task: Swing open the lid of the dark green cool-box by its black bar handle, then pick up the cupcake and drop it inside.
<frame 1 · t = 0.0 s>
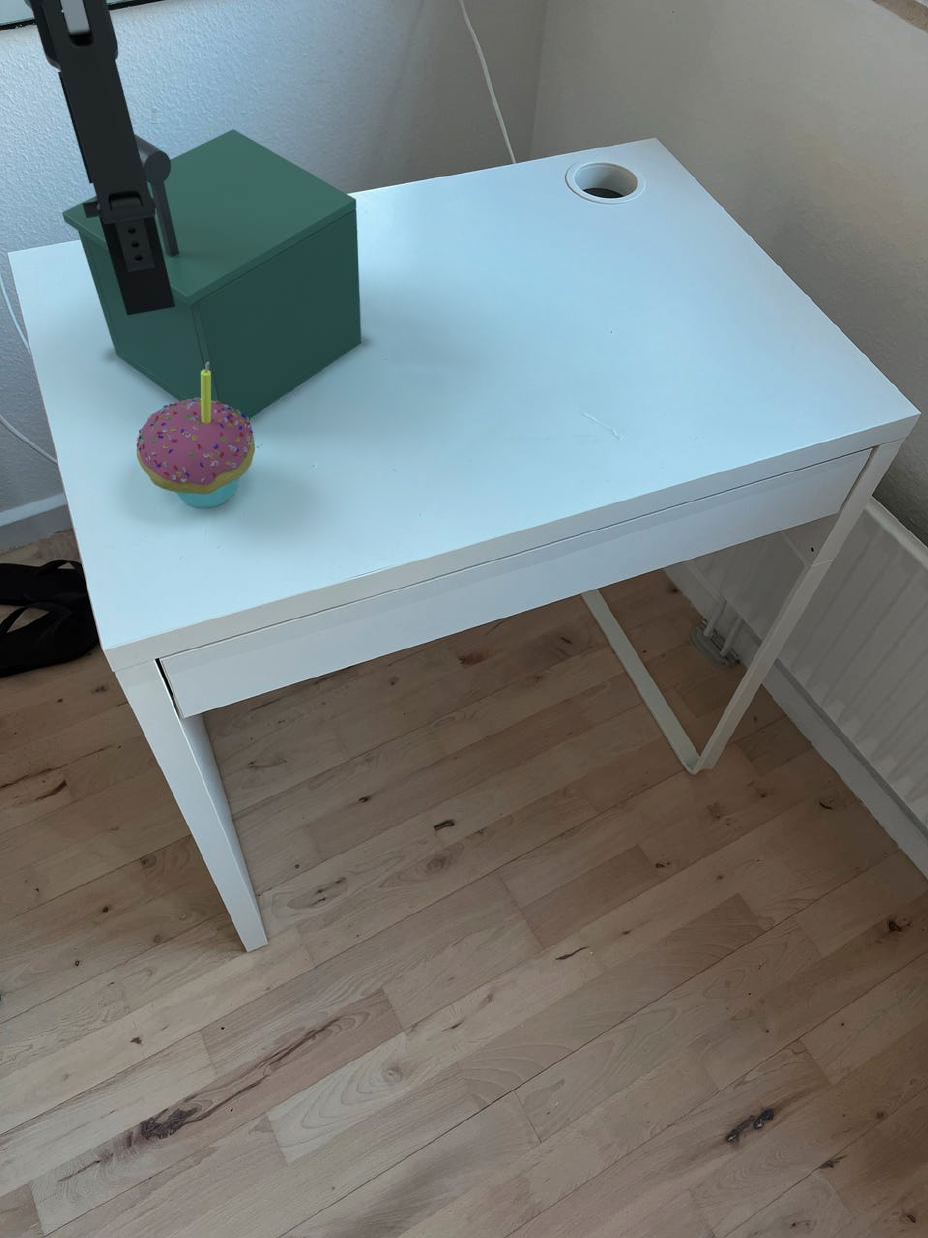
hand: (129, 238, 57), 21 cm above the table, tool pointing down, fingers open, 13 cm apart
cupcake: (206, 488, 74), on the table
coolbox: (241, 348, 83), on the table
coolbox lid: (204, 161, 68), point 17 cm above the table, hinge at 0.0°
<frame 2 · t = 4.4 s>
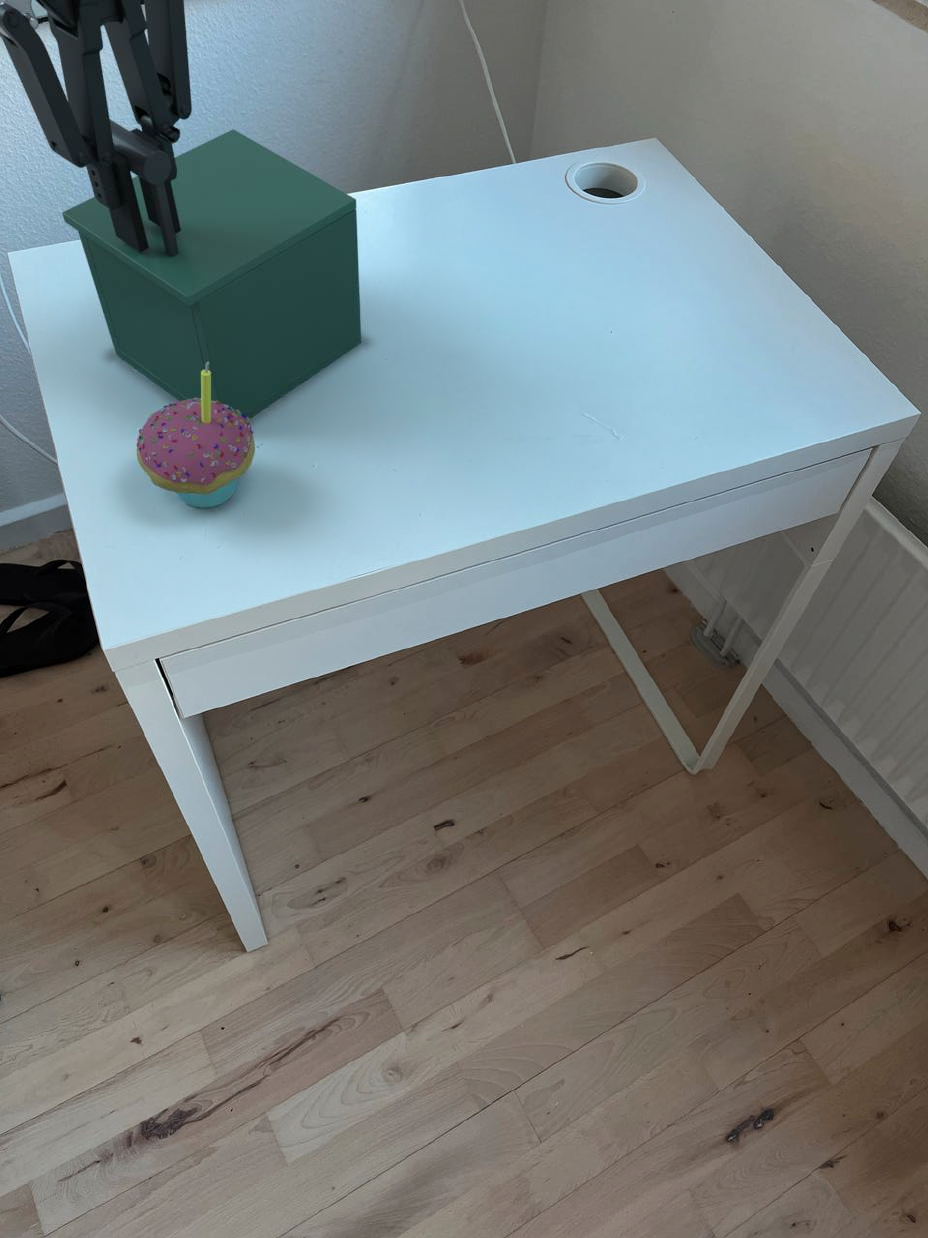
hand: (148, 232, 68), 14 cm above the table, tool pointing down, fingers closed on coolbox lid, 2 cm apart
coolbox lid: (204, 161, 68), point 17 cm above the table, hinge at 0.0°, touching gripper
everything else where it was.
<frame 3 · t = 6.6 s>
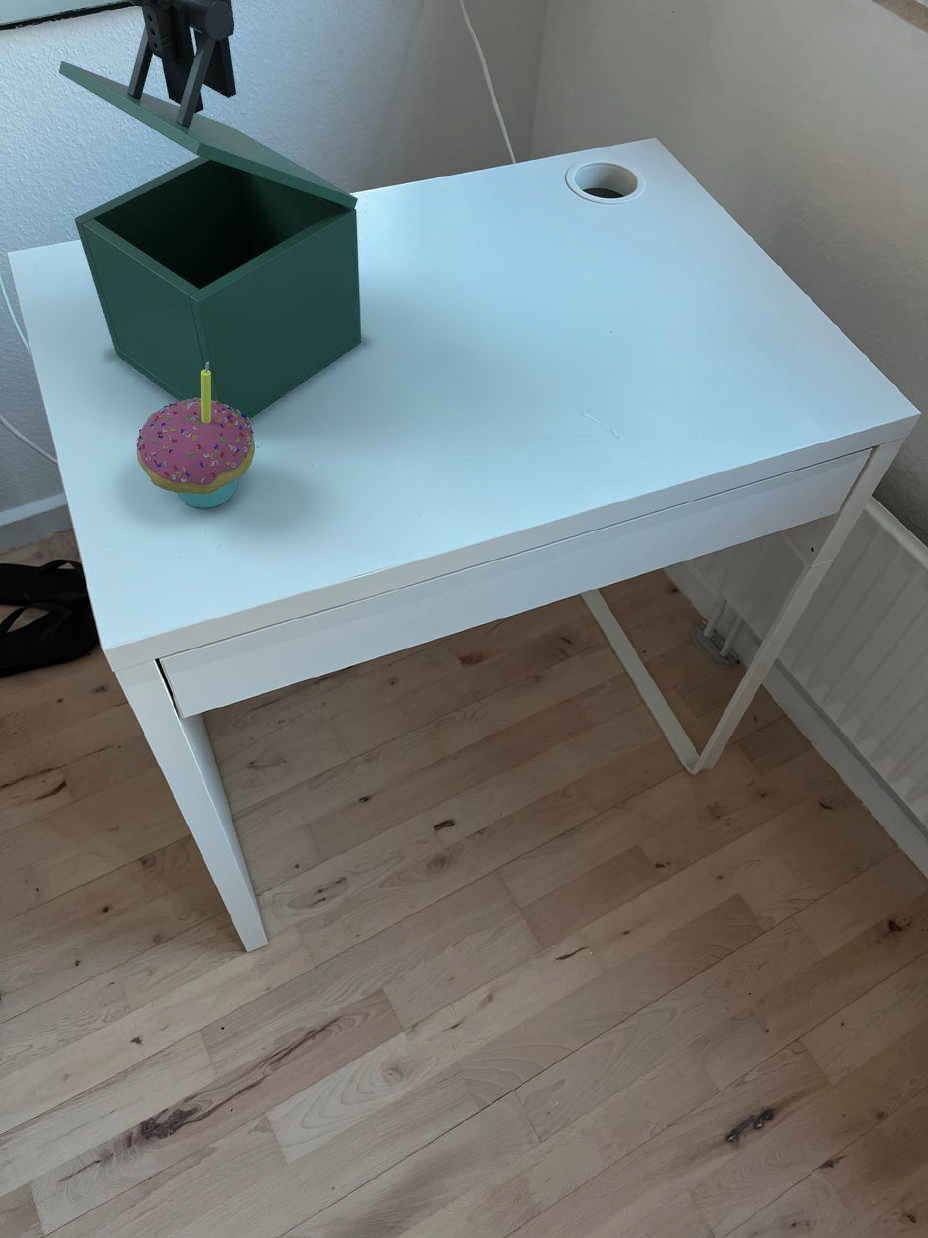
hand: (202, 95, 65), 22 cm above the table, tool pointing down, fingers closed on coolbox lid, 2 cm apart
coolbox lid: (235, 84, 67), point 21 cm above the table, hinge at 35.4°, touching gripper
everything else where it was.
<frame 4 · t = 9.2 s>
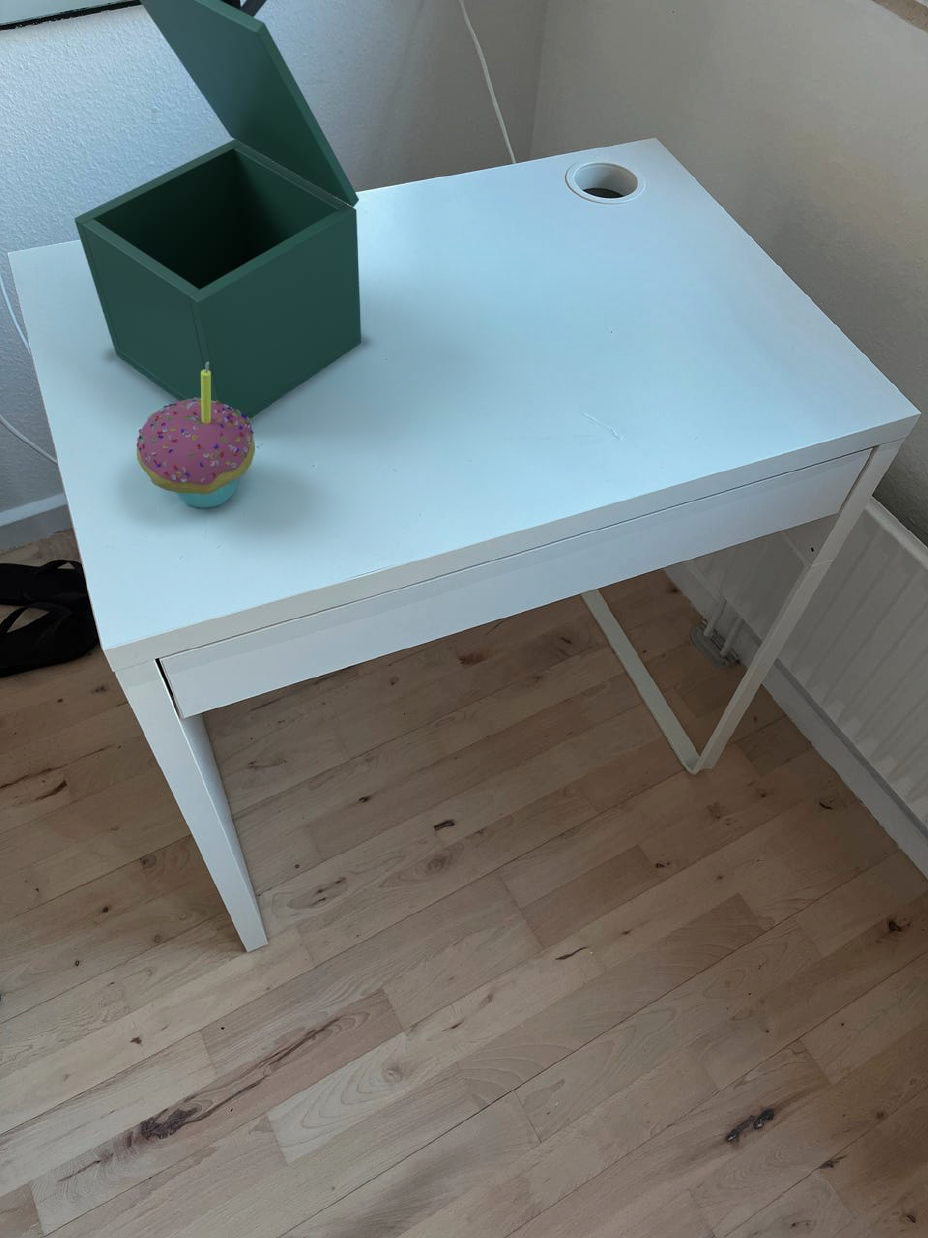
hand: (289, 11, 67), 25 cm above the table, tool pointing down, fingers open, 11 cm apart
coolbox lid: (277, 46, 67), point 23 cm above the table, hinge at 62.8°, touching gripper
everything else where it was.
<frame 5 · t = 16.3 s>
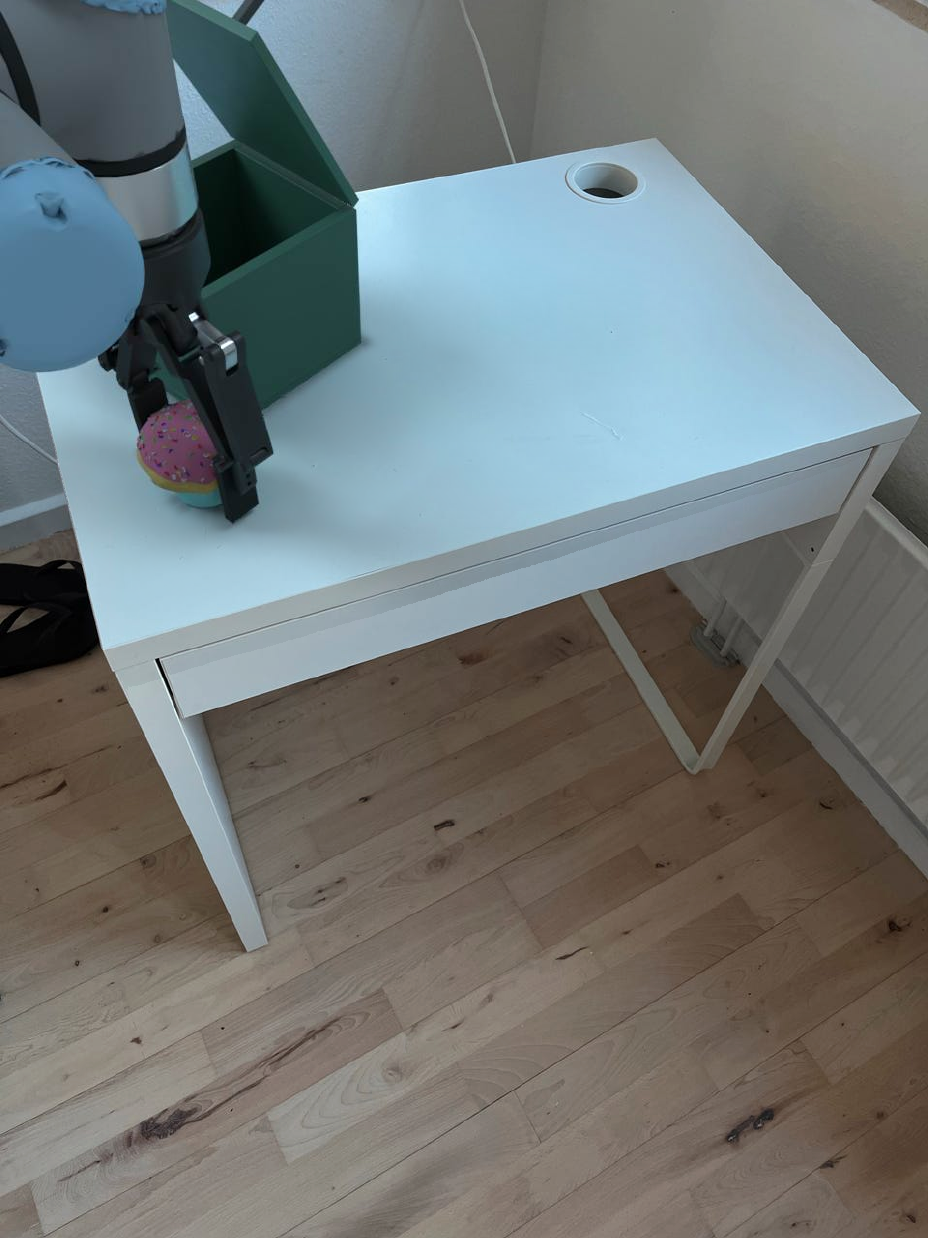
hand: (202, 480, 73), 1 cm above the table, tool pointing down, fingers closed on cupcake, 8 cm apart
cupcake: (206, 488, 74), on the table, touching gripper
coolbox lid: (274, 48, 67), point 23 cm above the table, hinge at 60.6°
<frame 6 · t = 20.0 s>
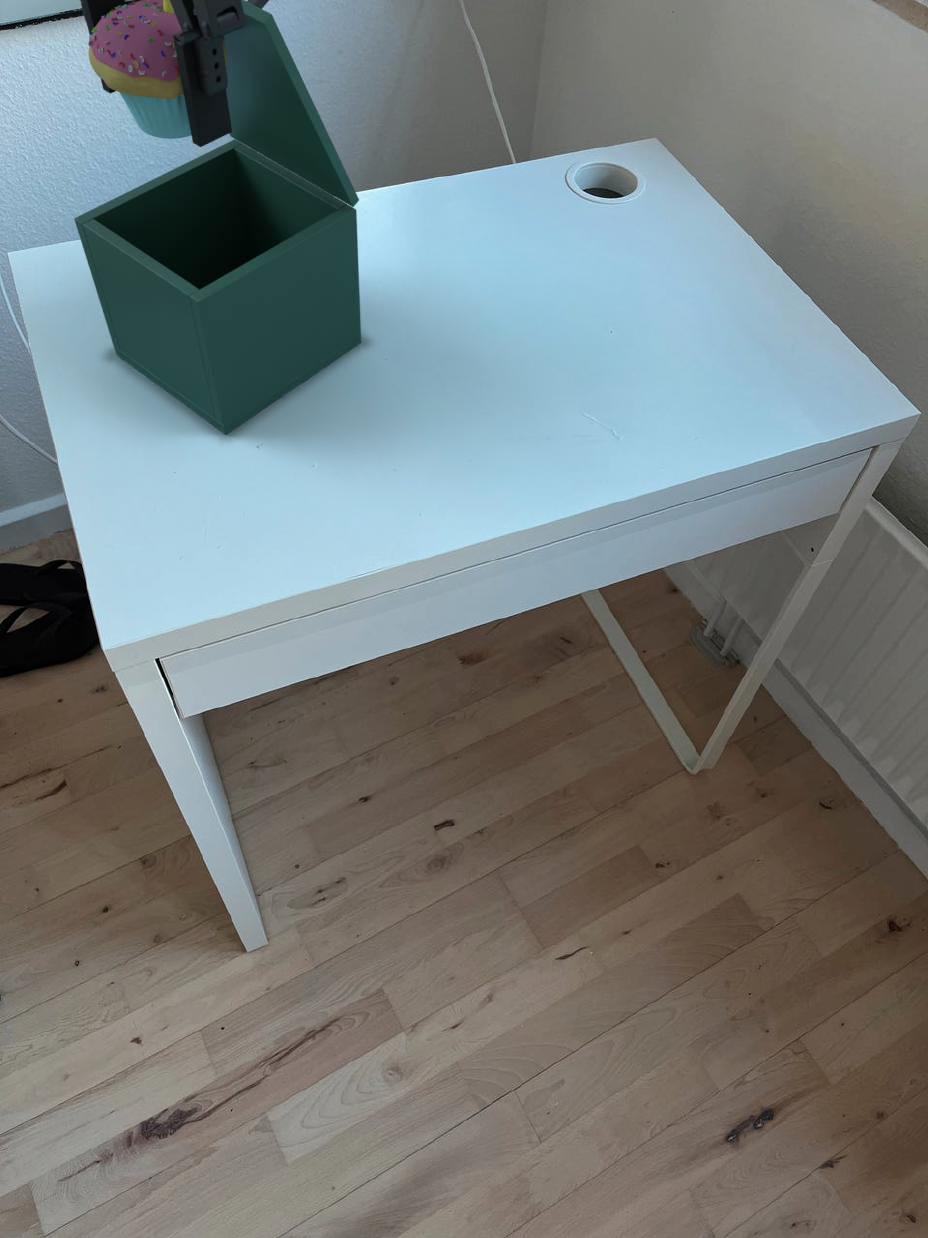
hand: (166, 109, 63), 22 cm above the table, tool pointing down, fingers closed on cupcake, 8 cm apart
cupcake: (173, 124, 64), point 21 cm above the table, touching gripper
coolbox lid: (281, 44, 68), point 23 cm above the table, hinge at 65.3°
when the fingers open (13 cm above the table, at t = 23.5 s): cupcake stays where it is, resting on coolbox.
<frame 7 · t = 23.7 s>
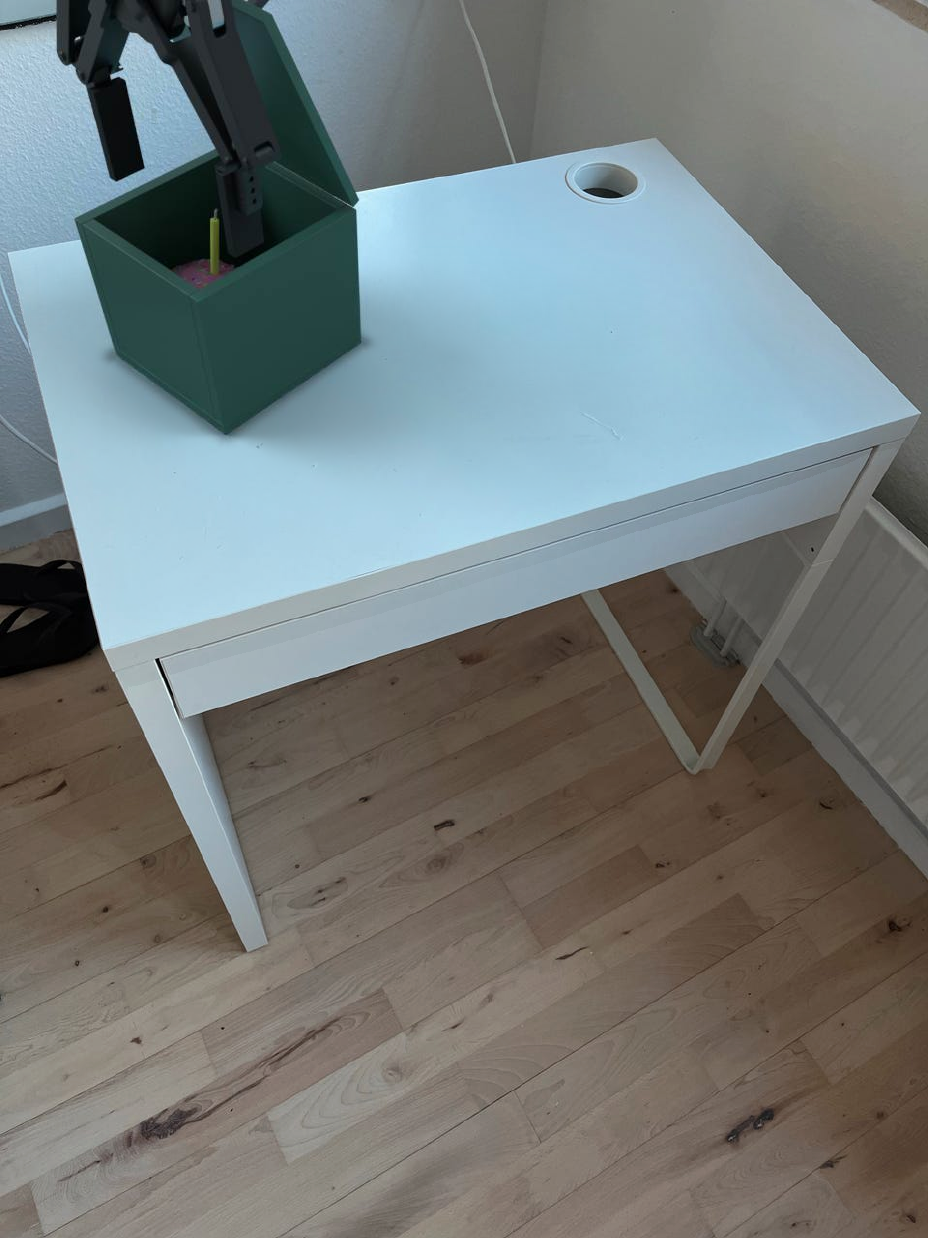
hand: (185, 209, 69), 15 cm above the table, tool pointing down, fingers open, 12 cm apart
cupcake: (214, 347, 81), point 1 cm above the table, touching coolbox
everything else where it was.
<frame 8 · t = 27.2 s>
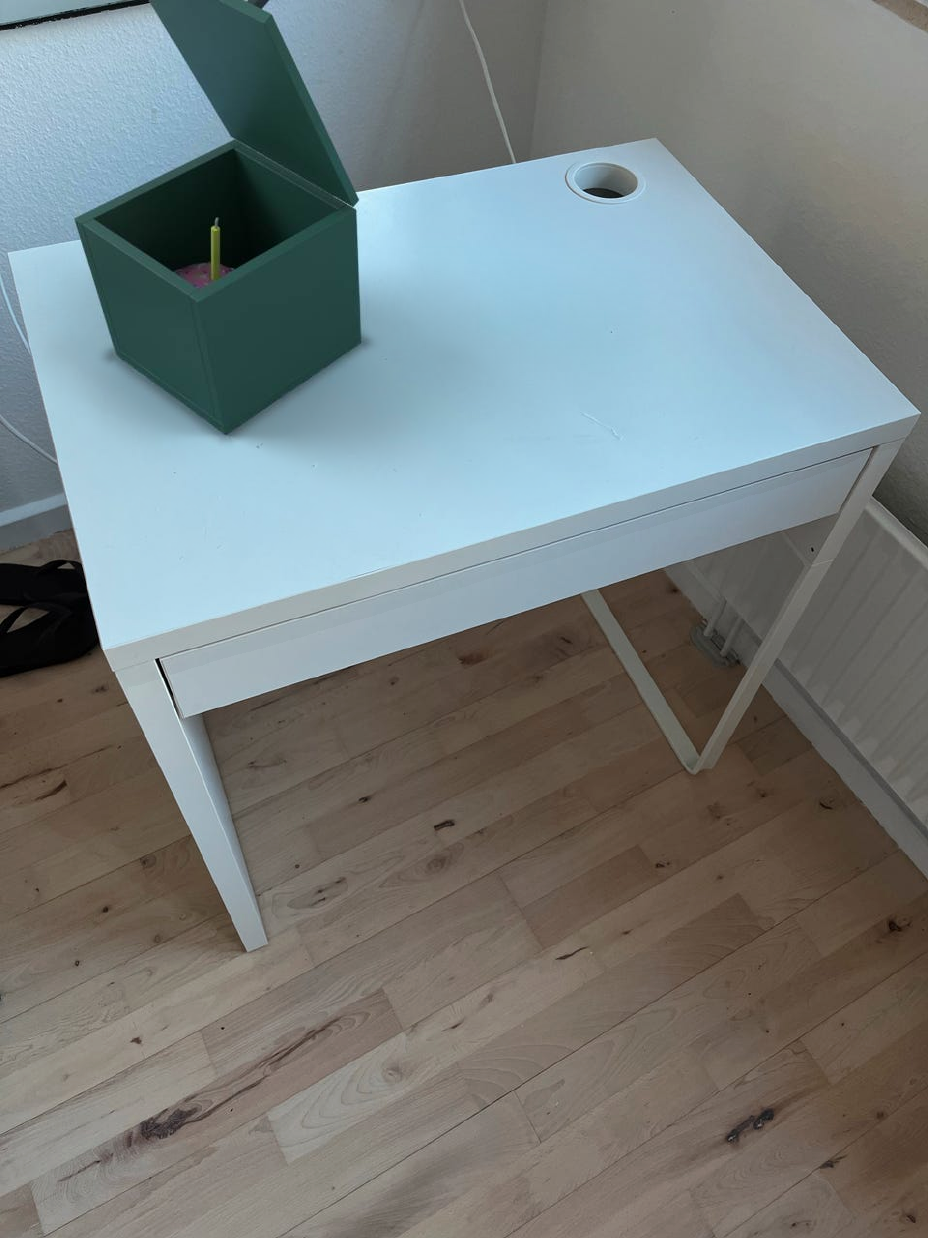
nothing on the table moved.
at the end: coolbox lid at +65° (first picture: +0°); cupcake inside the target area in the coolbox (2.3 cm from its centre), point 0.8 cm above the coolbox's base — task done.
